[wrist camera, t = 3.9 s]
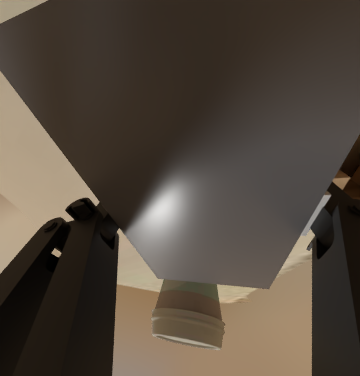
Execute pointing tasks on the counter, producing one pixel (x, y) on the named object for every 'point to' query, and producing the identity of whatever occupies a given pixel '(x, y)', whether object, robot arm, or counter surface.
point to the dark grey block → (196, 119)
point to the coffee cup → (188, 314)
